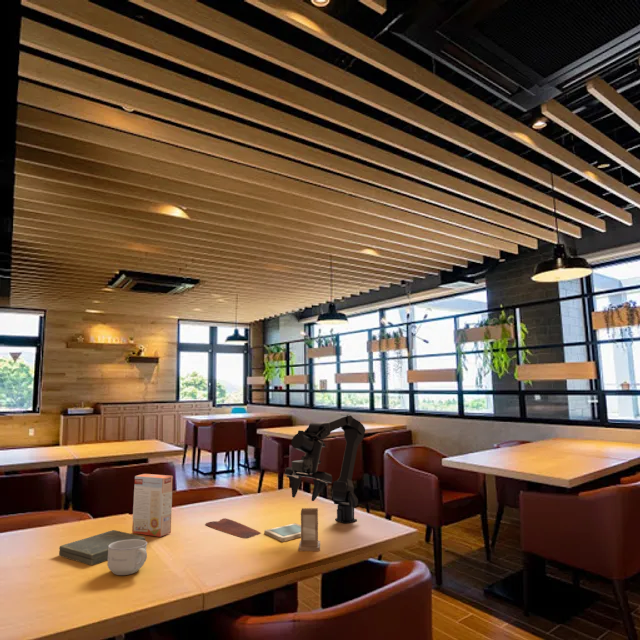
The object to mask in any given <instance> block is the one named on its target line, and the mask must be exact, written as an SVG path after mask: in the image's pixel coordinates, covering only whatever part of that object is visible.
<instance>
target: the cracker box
mask: <svg viewBox="0 0 640 640" xmlns="http://www.w3.org/2000/svg"><path fill="white" fill-rule="evenodd" d="M173 478H174V477H173V475H168V474H166V475H165V474H153V473H152V474H151V473H142V474H138V475H134V486H133V487H134V489H133V507H132V527H131V528H132V529H131V532H132V533H131V534H135V535H142V536H143V535H144V536H151V537H157V538H162V537H163V536H166V535H169V534H171V532H172V510H173V508H172V506H173V505H172V504H173V480H174V479H173Z"/></svg>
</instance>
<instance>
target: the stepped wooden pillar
mask: <svg viewBox="0 0 640 640" xmlns="http://www.w3.org/2000/svg"><path fill="white" fill-rule="evenodd" d="M318 511H319V510H318V507H317V508H315V507H314V508H313V507H311V508H310V507H309V508H305V507H304V508H303V507H302V508H301V510H300V525H301V537H300V541H299V545H298V552H312V551H313V552H319V551H321V540H319V518H318V517H319V512H318Z"/></svg>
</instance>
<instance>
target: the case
mask: <svg viewBox="0 0 640 640" xmlns="http://www.w3.org/2000/svg"><path fill="white" fill-rule="evenodd" d="M131 539H138V540H145V541H146V537H145V536H143V535H139V534H135V533H130V532H129V533H128V532H123V531H119V530H115V529H114V530H113V529H112V530H109V531H105V532H102V533H99V534H96V535H92V536H90V537H85V538H83V539H82V538H81V539H79V540H75V541H72V542H68V543H65V544H63V545H60V546H59V548H58V549H59V551H58V552H59V553H58V555H59V557H62V558H66V559H69V560H71V561H75V562H79V563H82V564H86V565H89V566H93V565H97V564H101V563H103V562H106V561H108V546H109V544H111V543H113V542H117V541H122V540H131Z"/></svg>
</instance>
